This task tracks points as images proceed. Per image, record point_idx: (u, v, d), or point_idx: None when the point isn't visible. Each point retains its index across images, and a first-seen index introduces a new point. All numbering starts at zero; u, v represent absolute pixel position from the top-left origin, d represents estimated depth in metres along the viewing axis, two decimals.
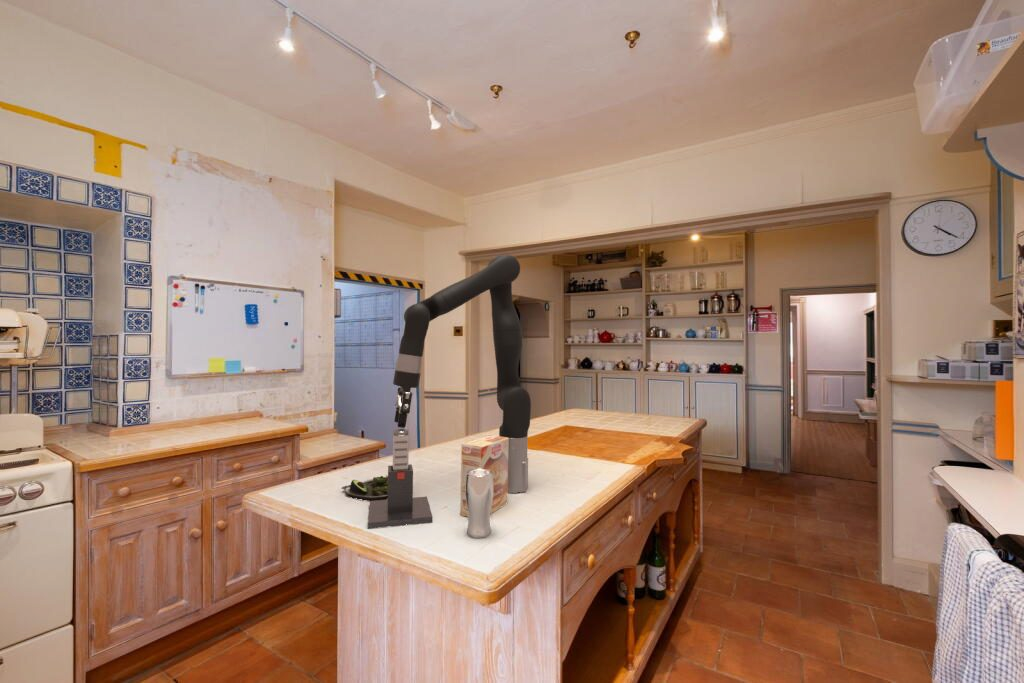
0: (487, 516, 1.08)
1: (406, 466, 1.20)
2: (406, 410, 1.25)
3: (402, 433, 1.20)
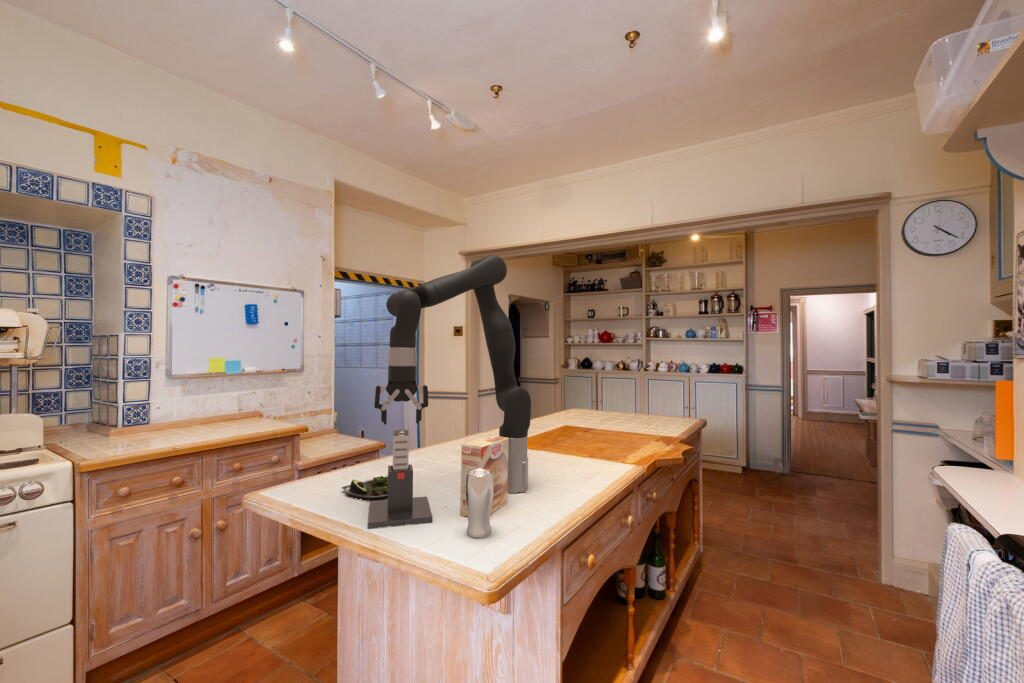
0: (487, 516, 1.08)
1: (406, 466, 1.20)
2: None
3: (402, 433, 1.20)
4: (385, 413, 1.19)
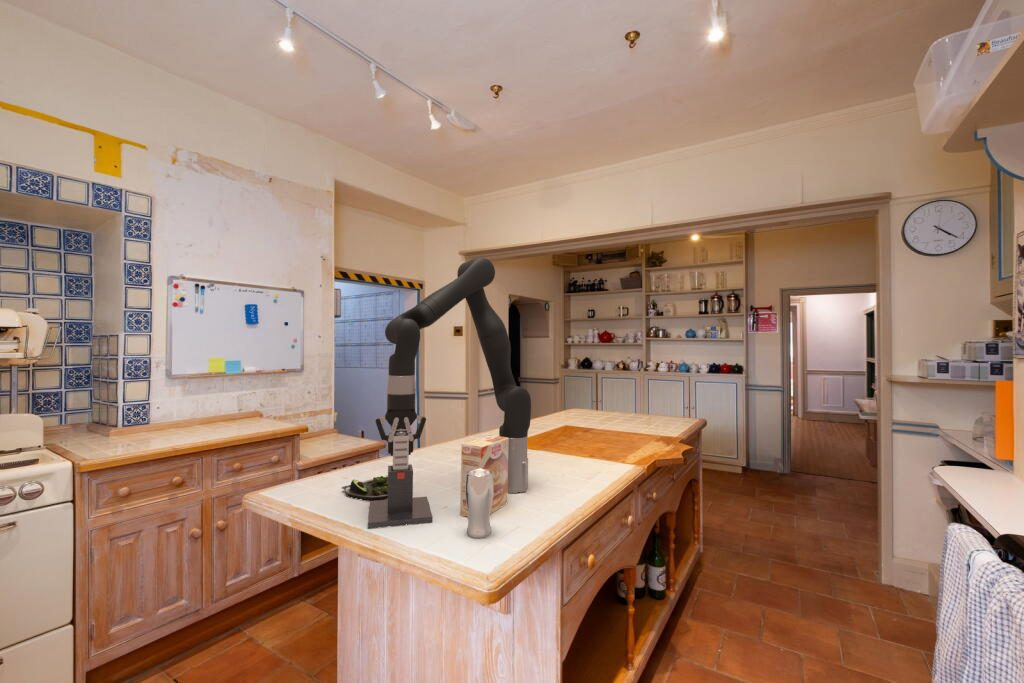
0: (487, 516, 1.08)
1: (406, 466, 1.20)
2: None
3: (402, 433, 1.20)
4: (392, 445, 1.20)
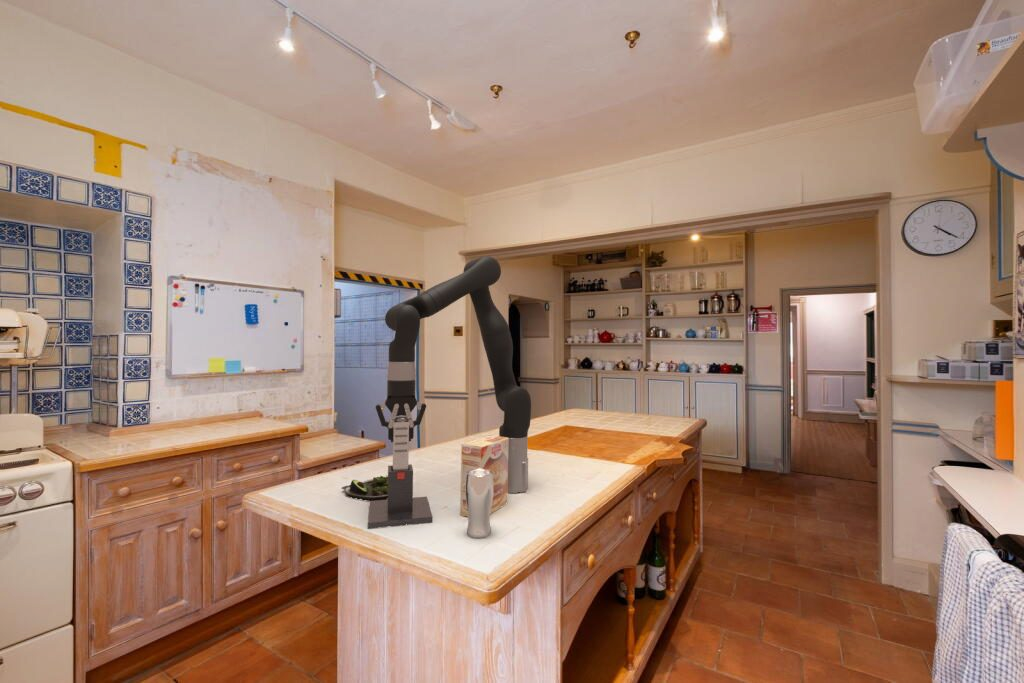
0: (487, 516, 1.08)
1: (406, 452, 1.20)
2: None
3: (402, 419, 1.20)
4: (392, 431, 1.20)
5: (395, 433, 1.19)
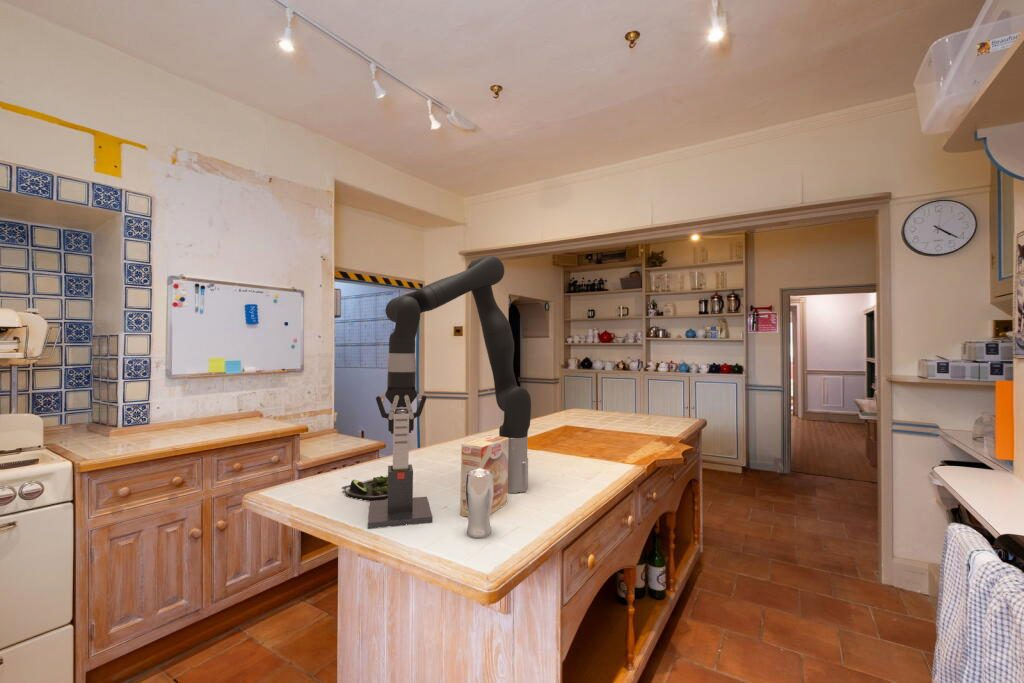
0: (487, 516, 1.08)
1: (406, 444, 1.20)
2: None
3: (402, 411, 1.20)
4: (392, 422, 1.20)
5: (395, 424, 1.19)
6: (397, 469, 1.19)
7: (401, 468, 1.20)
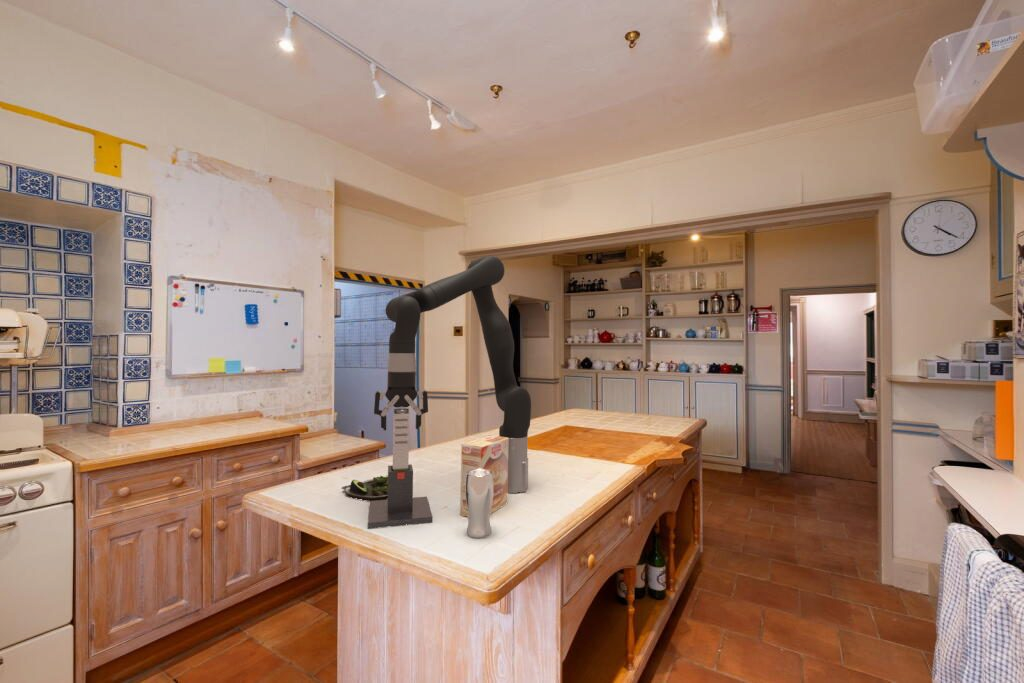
0: (487, 516, 1.08)
1: (406, 444, 1.20)
2: None
3: (402, 411, 1.20)
4: (385, 419, 1.19)
5: (395, 424, 1.19)
6: (397, 469, 1.19)
7: (401, 468, 1.20)
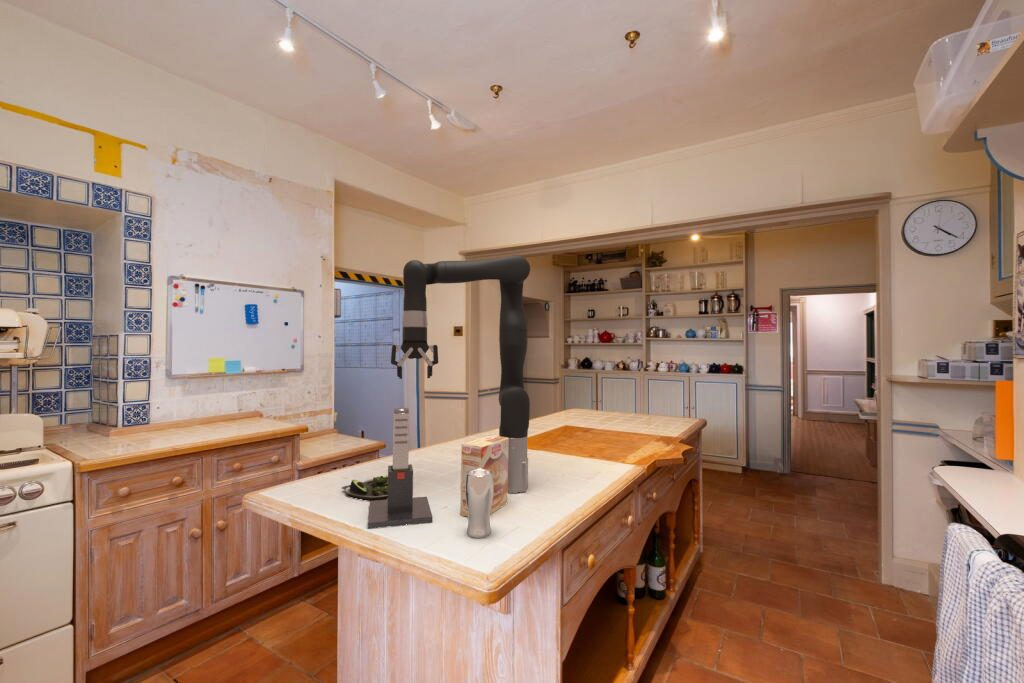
0: (487, 516, 1.08)
1: (406, 444, 1.20)
2: None
3: (402, 411, 1.20)
4: (401, 369, 1.35)
5: (395, 424, 1.19)
6: (397, 469, 1.19)
7: (401, 468, 1.20)
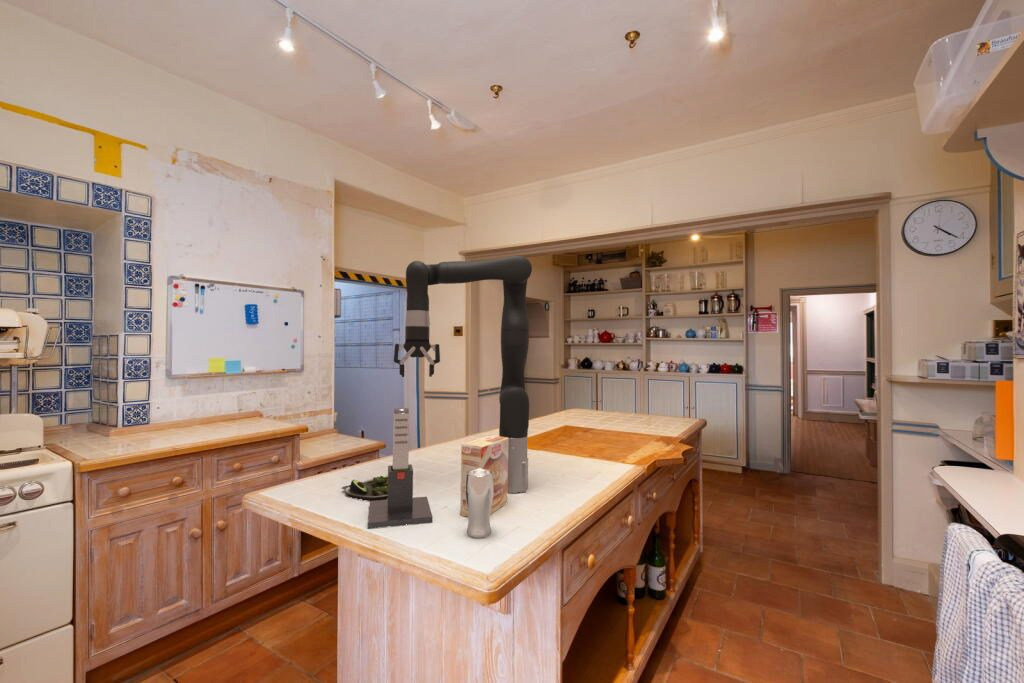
0: (487, 516, 1.08)
1: (406, 444, 1.20)
2: None
3: (402, 411, 1.20)
4: (403, 367, 1.39)
5: (395, 424, 1.19)
6: (397, 469, 1.19)
7: (401, 468, 1.20)
